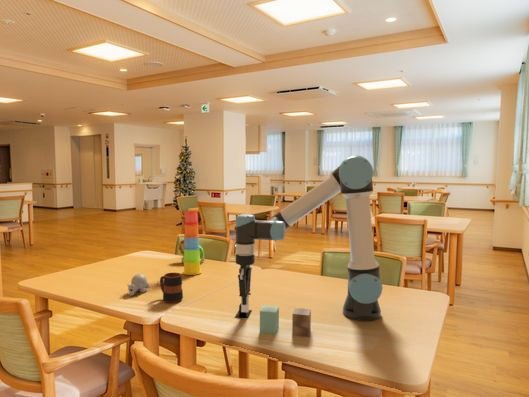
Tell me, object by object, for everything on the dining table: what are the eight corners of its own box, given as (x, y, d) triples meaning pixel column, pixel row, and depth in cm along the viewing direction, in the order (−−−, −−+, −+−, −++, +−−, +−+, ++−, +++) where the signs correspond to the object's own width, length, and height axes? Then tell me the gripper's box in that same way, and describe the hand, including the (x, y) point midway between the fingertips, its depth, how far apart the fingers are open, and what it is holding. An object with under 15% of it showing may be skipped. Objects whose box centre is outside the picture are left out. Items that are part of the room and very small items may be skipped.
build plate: (238, 309, 170) (238, 298, 170) (255, 310, 169) (255, 299, 169) (231, 320, 158) (231, 308, 158) (249, 321, 157) (249, 310, 157)
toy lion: (205, 261, 249) (204, 237, 248) (202, 264, 244) (202, 239, 242) (180, 260, 252) (180, 236, 250) (177, 262, 246) (177, 238, 245)
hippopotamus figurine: (124, 300, 186) (119, 285, 183) (141, 284, 196) (136, 270, 192) (136, 302, 183) (131, 287, 180) (152, 286, 193) (147, 271, 189)
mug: (167, 294, 187) (167, 270, 186) (186, 299, 180) (186, 273, 179) (153, 299, 179) (153, 274, 178) (173, 304, 173) (173, 278, 172)
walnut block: (310, 330, 148) (310, 309, 147) (308, 337, 142) (309, 315, 141) (294, 328, 149) (294, 308, 148) (292, 335, 143) (292, 313, 143)
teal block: (278, 327, 150) (278, 306, 150) (275, 333, 145) (276, 312, 144) (263, 325, 152) (263, 305, 151) (259, 332, 146) (259, 311, 145)
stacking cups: (179, 274, 219) (179, 212, 216) (187, 270, 229) (186, 210, 226) (197, 276, 217) (197, 213, 214) (204, 271, 227) (204, 211, 224)
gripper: (240, 249, 165) (240, 305, 167) (231, 256, 152) (231, 316, 154) (257, 250, 163) (257, 306, 165) (250, 257, 151) (250, 318, 153)
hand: (245, 311), depth 160 cm, fingers closed
